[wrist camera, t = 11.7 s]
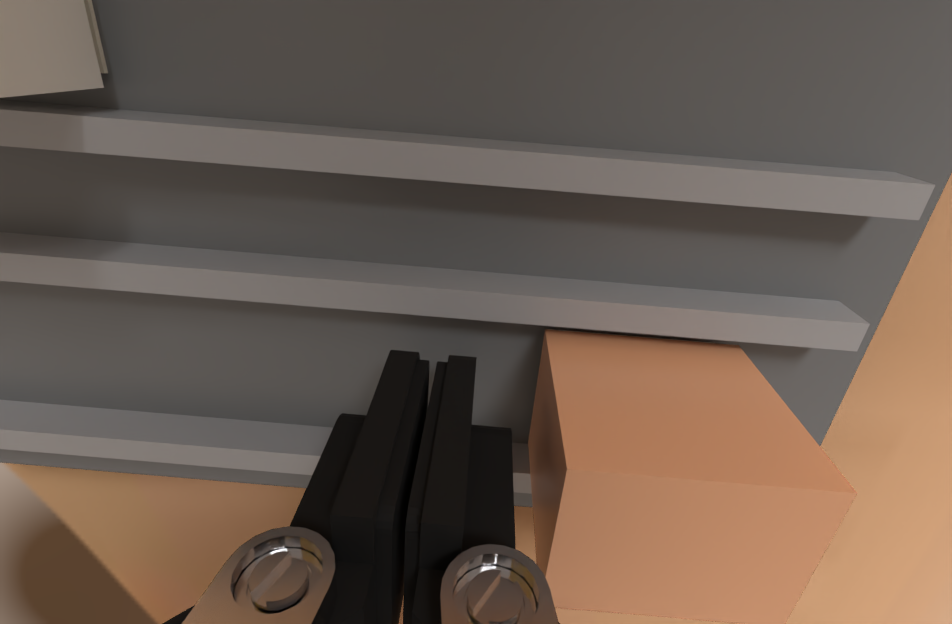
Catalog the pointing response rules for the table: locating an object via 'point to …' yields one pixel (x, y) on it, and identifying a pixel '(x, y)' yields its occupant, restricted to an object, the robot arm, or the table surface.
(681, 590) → the orange cube
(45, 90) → the off-white block
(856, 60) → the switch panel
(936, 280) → the table surface
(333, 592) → the robot arm
